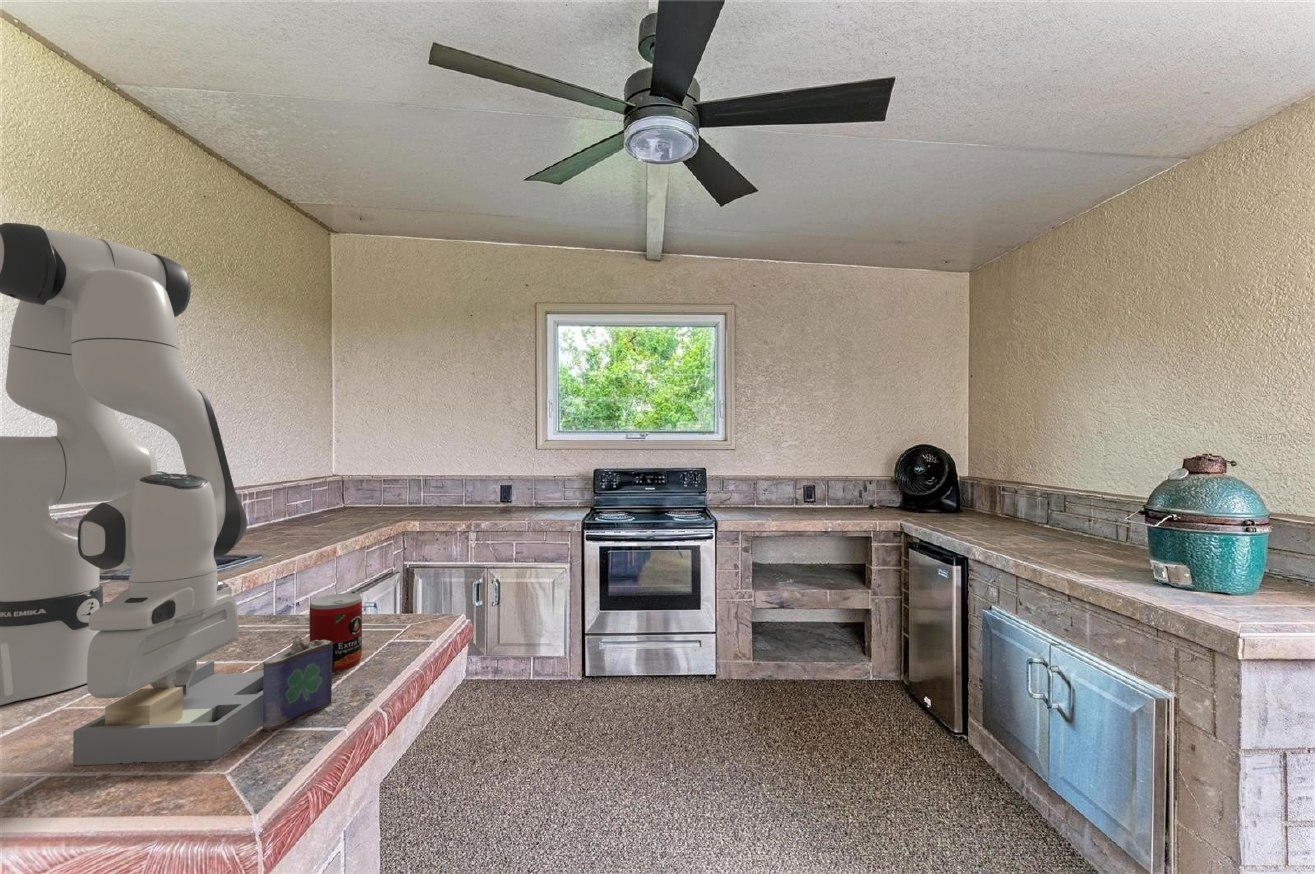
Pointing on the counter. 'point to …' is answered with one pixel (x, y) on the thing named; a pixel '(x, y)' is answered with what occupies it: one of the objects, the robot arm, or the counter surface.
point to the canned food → (338, 626)
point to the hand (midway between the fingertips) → (173, 701)
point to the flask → (297, 683)
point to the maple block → (146, 708)
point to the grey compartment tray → (181, 724)
